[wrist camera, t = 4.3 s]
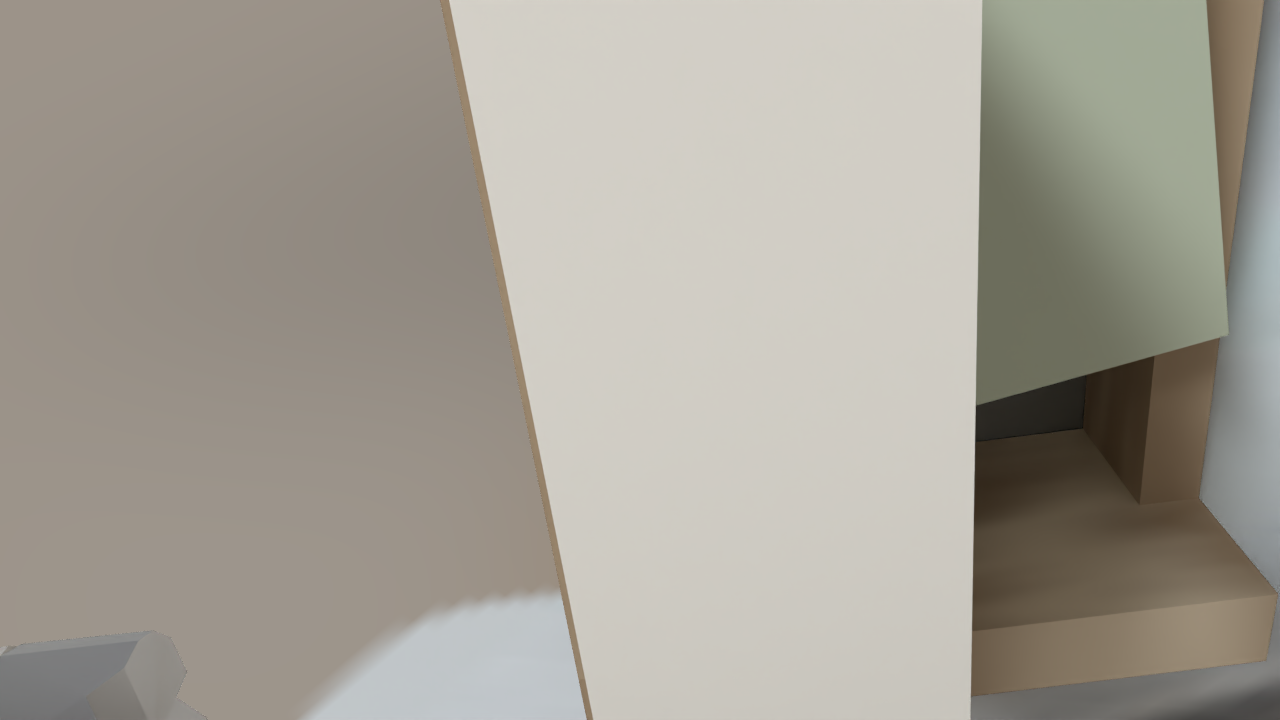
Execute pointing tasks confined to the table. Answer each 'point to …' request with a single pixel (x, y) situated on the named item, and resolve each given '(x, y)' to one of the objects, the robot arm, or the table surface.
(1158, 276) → the offcut top
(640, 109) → the off-white rectangular board
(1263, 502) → the table surface
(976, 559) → the rack
